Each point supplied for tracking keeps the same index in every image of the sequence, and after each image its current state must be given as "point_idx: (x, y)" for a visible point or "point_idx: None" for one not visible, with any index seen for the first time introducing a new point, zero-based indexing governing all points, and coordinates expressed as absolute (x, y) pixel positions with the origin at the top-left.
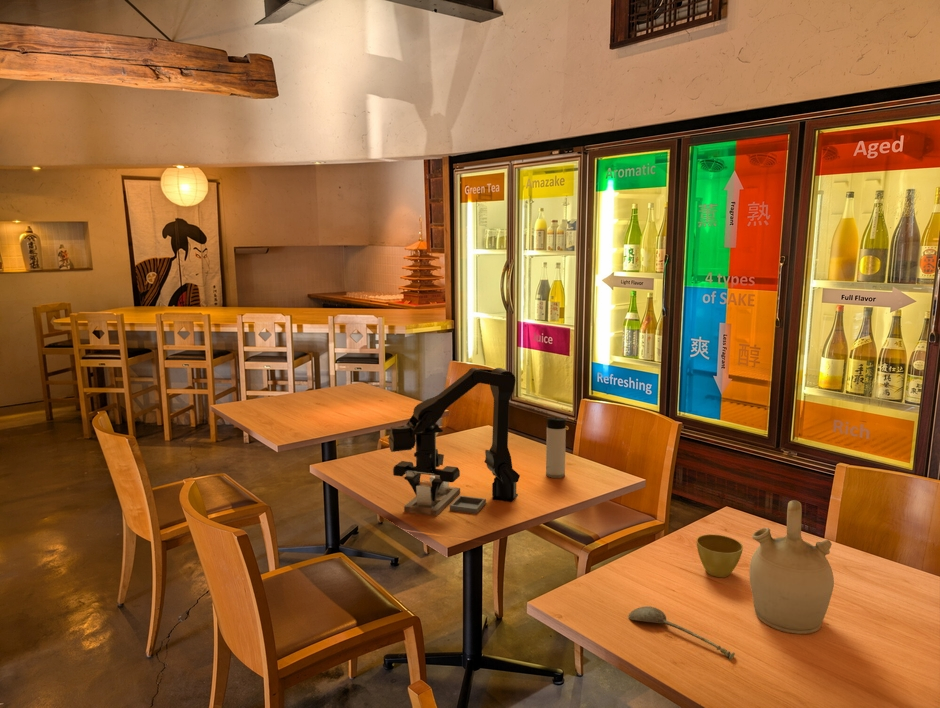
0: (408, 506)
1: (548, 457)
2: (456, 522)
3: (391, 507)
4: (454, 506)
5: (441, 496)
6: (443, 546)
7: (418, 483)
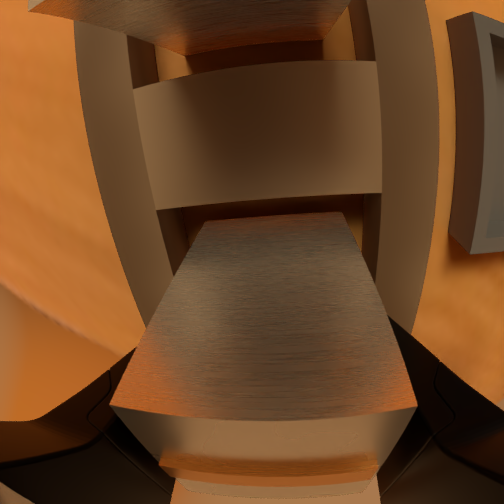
0: None
1: None
2: (484, 336)
3: (76, 305)
4: (495, 249)
5: (341, 86)
6: None
7: (141, 445)
